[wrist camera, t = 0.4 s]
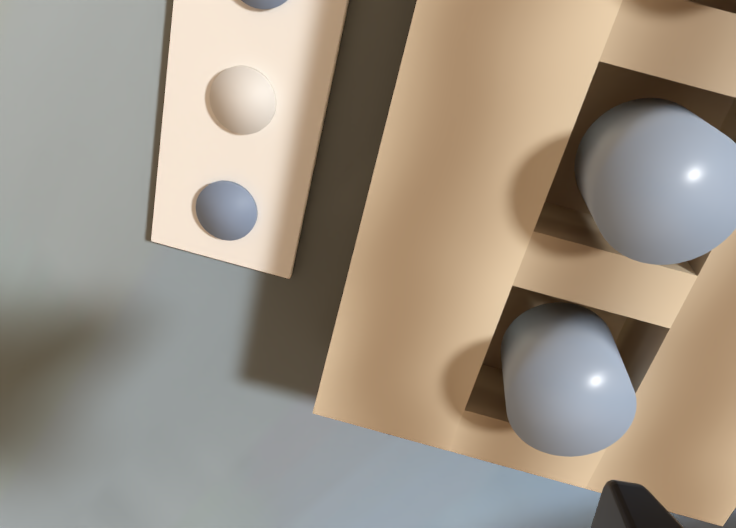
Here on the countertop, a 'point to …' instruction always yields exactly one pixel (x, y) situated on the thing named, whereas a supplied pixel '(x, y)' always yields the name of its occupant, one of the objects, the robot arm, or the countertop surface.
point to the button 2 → (565, 381)
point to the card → (243, 126)
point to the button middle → (658, 181)
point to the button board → (537, 241)
